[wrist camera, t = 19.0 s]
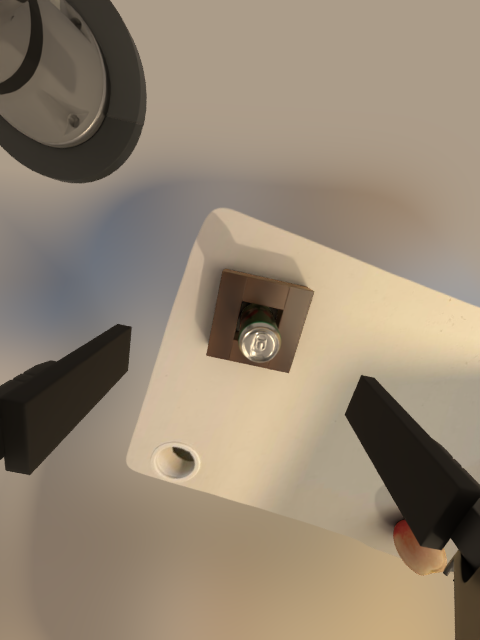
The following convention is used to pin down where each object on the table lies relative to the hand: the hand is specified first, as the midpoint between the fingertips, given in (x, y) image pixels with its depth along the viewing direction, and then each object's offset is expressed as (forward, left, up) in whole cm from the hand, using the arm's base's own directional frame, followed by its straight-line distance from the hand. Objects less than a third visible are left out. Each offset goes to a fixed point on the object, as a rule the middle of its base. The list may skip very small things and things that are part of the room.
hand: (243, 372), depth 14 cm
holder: (+3, -4, -25) cm, 26 cm away
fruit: (+44, -41, -25) cm, 65 cm away
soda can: (+2, -3, -25) cm, 26 cm away
